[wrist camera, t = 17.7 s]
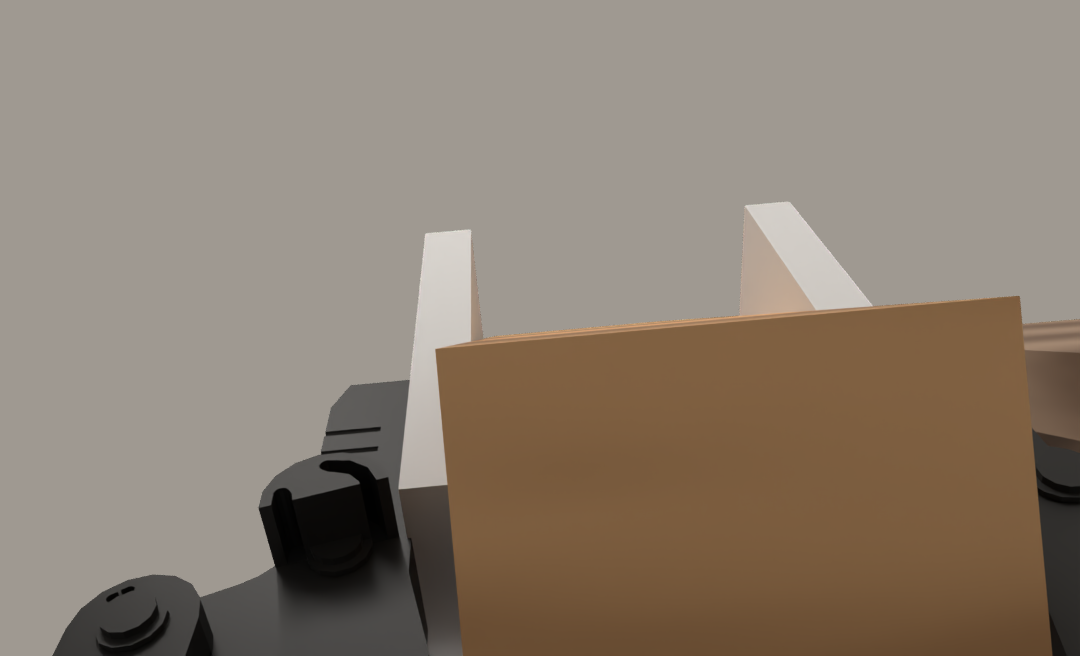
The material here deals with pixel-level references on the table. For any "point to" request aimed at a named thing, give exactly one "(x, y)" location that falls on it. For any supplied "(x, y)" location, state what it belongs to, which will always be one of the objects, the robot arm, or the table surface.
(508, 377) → the wooden grain block
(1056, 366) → the tall stand
